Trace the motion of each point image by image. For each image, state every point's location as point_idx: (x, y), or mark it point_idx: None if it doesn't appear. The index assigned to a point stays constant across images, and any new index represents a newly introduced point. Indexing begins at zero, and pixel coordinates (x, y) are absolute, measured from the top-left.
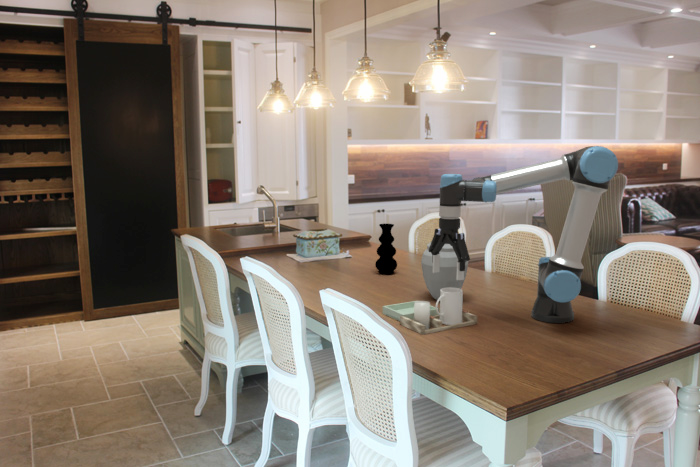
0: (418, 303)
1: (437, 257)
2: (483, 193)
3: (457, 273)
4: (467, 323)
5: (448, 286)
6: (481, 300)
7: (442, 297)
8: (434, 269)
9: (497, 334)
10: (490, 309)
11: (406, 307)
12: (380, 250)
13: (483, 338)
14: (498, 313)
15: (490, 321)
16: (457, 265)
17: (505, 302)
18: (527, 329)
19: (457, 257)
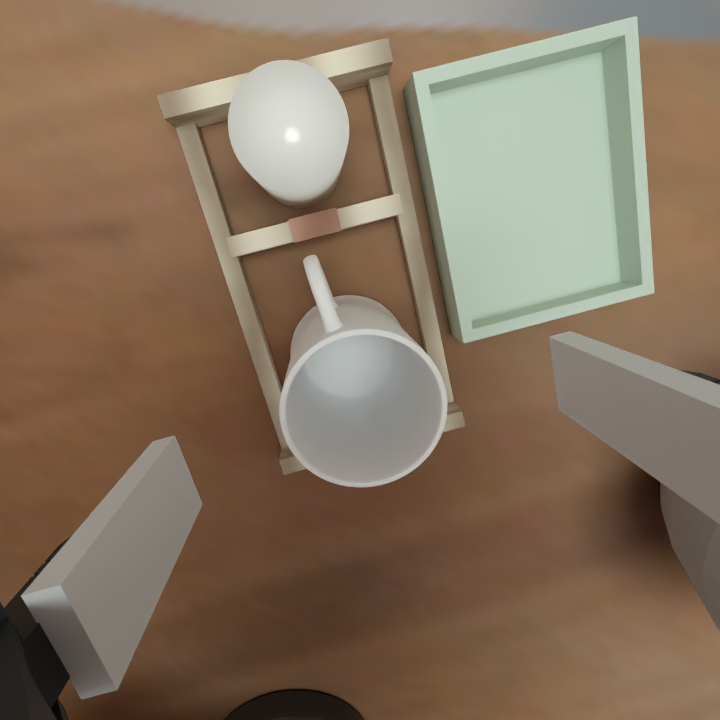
0: (279, 90)
1: (686, 456)
2: None
3: (128, 476)
4: (267, 405)
5: (693, 508)
6: (606, 610)
7: (319, 312)
8: (570, 354)
9: (116, 473)
10: (471, 592)
11: (618, 208)
12: None
13: (67, 391)
14: (406, 598)
15: (306, 523)
16: (78, 543)
17: (540, 681)
18: (163, 612)
19: (11, 666)
